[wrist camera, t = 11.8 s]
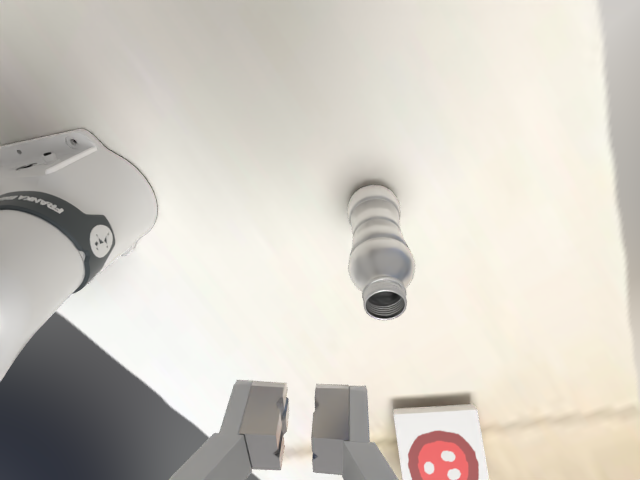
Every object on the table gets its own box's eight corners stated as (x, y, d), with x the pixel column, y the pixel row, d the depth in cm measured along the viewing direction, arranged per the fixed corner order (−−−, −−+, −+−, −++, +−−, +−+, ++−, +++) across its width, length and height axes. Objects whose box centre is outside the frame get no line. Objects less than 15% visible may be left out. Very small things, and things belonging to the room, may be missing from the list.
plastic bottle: (343, 183, 47) (340, 281, 30) (396, 175, 46) (423, 272, 29) (350, 225, 51) (351, 334, 34) (400, 219, 50) (426, 328, 33)
